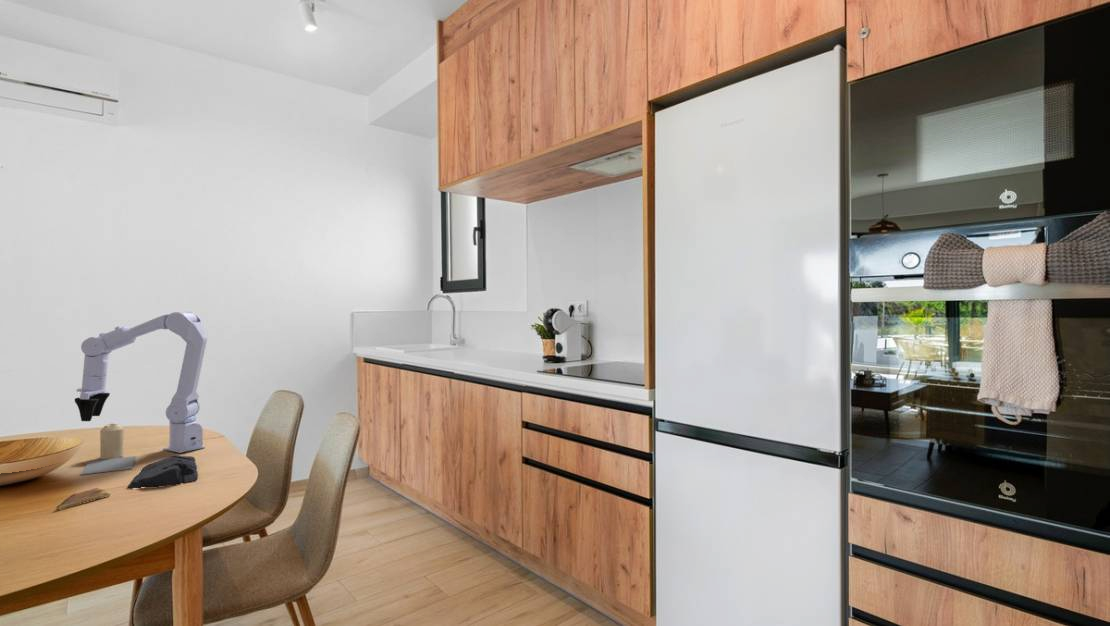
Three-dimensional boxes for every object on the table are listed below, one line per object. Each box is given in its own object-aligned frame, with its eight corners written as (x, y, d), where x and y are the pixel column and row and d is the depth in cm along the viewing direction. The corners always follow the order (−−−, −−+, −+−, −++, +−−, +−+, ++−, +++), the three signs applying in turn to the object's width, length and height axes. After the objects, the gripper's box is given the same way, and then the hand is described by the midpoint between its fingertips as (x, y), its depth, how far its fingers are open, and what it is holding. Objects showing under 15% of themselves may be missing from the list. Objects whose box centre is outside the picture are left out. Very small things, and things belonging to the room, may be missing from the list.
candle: (126, 456, 168) (126, 423, 168) (104, 460, 163) (104, 427, 163) (119, 453, 171) (119, 421, 171) (97, 457, 166) (97, 424, 166)
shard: (56, 513, 124) (56, 505, 124) (38, 508, 127) (38, 501, 127) (111, 498, 134) (111, 490, 134) (93, 494, 137) (93, 486, 137)
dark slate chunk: (203, 463, 164) (203, 447, 164) (196, 484, 145) (196, 466, 144) (140, 470, 157) (140, 453, 157) (123, 493, 137) (123, 474, 137)
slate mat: (89, 462, 161) (89, 461, 161) (136, 457, 168) (136, 456, 168) (80, 475, 149) (80, 474, 149) (131, 469, 155) (131, 468, 155)
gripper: (87, 371, 178) (83, 413, 178) (69, 378, 164) (64, 423, 164) (114, 372, 180) (110, 413, 180) (98, 378, 167) (94, 423, 167)
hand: (90, 418), depth 172 cm, fingers open, 7 cm apart
